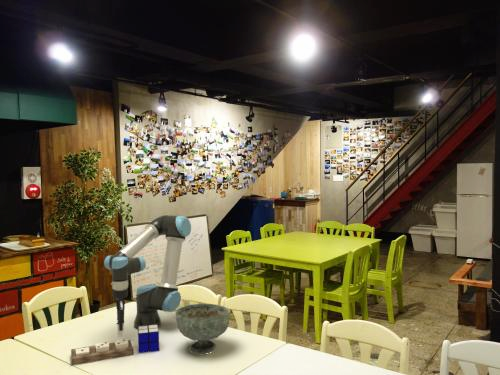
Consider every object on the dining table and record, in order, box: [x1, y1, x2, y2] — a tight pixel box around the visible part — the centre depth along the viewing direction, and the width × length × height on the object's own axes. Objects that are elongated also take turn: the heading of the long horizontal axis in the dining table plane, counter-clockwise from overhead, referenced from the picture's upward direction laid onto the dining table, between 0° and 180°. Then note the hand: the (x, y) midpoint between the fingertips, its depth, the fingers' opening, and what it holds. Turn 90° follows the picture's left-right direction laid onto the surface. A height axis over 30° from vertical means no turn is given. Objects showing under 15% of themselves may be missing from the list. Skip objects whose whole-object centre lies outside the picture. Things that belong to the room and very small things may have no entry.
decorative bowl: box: [175, 303, 231, 355], centre depth 214 cm, size 26×26×20 cm
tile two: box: [114, 338, 129, 350], centre depth 212 cm, size 6×6×3 cm
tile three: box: [94, 341, 110, 353], centre depth 208 cm, size 6×6×3 cm
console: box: [70, 339, 135, 366], centre depth 208 cm, size 28×12×3 cm, turn 113°
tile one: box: [75, 346, 89, 356], centre depth 205 cm, size 6×6×3 cm
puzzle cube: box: [137, 325, 160, 354], centre depth 216 cm, size 10×10×10 cm
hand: (120, 336), depth 211 cm, fingers closed
